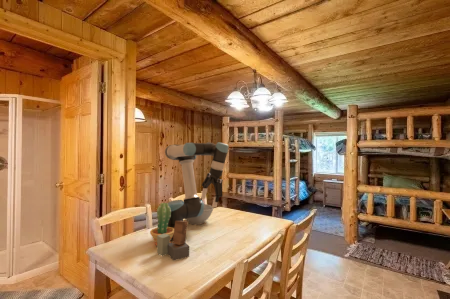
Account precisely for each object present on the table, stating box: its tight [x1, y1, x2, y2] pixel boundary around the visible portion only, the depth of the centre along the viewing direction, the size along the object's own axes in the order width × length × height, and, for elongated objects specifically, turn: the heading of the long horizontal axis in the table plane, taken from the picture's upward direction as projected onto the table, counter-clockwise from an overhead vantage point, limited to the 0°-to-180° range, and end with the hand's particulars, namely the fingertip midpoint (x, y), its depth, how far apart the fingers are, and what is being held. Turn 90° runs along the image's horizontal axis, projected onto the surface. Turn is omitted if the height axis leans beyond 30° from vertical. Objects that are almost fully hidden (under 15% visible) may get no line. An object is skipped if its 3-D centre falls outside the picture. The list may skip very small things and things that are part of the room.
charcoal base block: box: [167, 242, 190, 261], centre depth 130 cm, size 9×9×6 cm
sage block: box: [156, 233, 171, 257], centre depth 133 cm, size 5×5×10 cm
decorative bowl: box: [184, 203, 214, 226], centre depth 190 cm, size 27×27×12 cm
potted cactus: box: [149, 202, 174, 246], centre depth 146 cm, size 15×15×25 cm
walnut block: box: [171, 220, 189, 245], centre depth 132 cm, size 5×5×12 cm
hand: (208, 202), depth 140 cm, fingers open, 13 cm apart
